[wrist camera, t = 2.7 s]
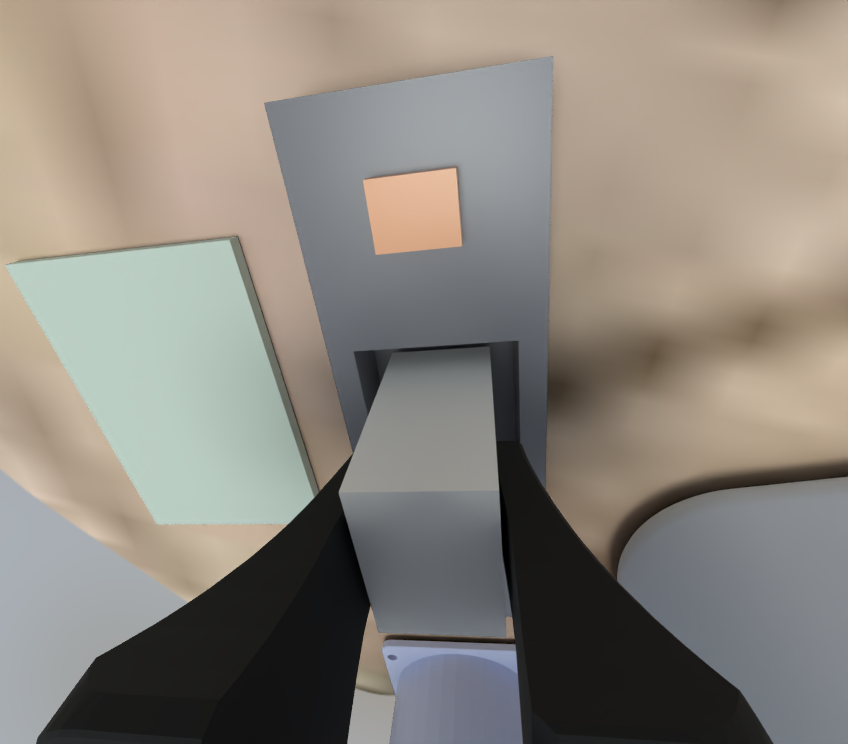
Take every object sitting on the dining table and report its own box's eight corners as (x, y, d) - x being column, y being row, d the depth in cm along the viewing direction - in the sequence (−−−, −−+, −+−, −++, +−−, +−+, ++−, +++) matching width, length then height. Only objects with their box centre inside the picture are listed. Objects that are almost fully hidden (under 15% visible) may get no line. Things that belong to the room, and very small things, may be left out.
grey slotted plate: (535, 562, 19) (545, 633, 16) (402, 560, 20) (391, 627, 17) (536, 72, 10) (558, 50, 8) (304, 109, 11) (251, 100, 9)
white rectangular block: (495, 462, 15) (506, 637, 10) (411, 464, 15) (378, 632, 10) (489, 346, 13) (498, 490, 8) (392, 352, 13) (338, 492, 8)
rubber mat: (326, 514, 19) (322, 523, 18) (163, 515, 20) (156, 524, 20) (237, 236, 13) (229, 239, 13) (18, 261, 14) (4, 264, 14)
